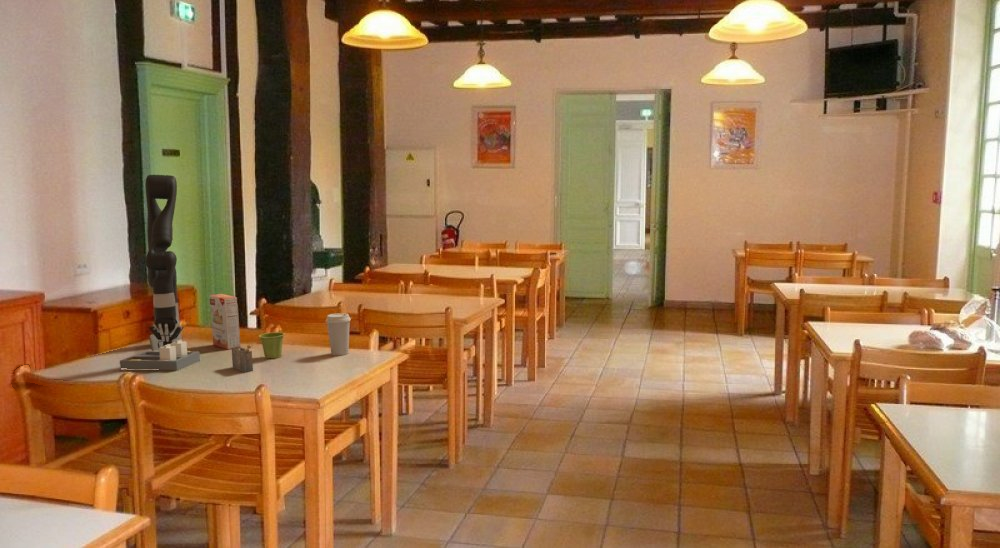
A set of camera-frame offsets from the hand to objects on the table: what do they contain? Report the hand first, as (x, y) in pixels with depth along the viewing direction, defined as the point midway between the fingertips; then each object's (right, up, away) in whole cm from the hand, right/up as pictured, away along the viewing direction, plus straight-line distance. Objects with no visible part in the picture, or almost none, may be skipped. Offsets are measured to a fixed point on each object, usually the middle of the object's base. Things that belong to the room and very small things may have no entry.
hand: (168, 350), depth 307 cm
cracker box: (+13, -1, +28) cm, 31 cm away
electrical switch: (-7, -3, +13) cm, 15 cm away
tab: (+3, -4, -8) cm, 10 cm away
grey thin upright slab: (+32, -6, -12) cm, 35 cm away
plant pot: (+38, -3, +6) cm, 38 cm away
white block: (+4, -3, 0) cm, 5 cm away
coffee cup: (+62, -2, +9) cm, 63 cm away
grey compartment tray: (-1, -5, -3) cm, 6 cm away
